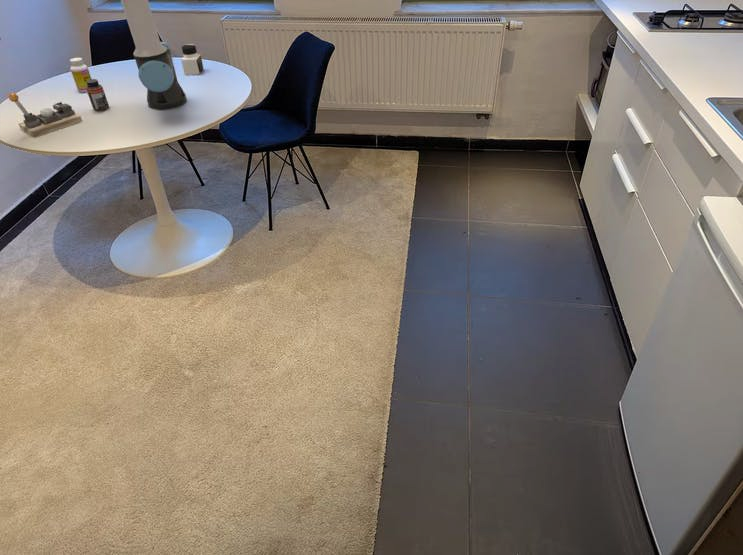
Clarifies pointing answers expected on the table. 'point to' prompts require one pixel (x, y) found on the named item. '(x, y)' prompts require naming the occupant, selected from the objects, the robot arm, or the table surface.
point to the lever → (18, 103)
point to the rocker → (58, 107)
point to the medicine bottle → (191, 60)
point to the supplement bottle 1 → (80, 74)
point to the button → (46, 113)
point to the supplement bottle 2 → (97, 95)
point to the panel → (49, 121)
